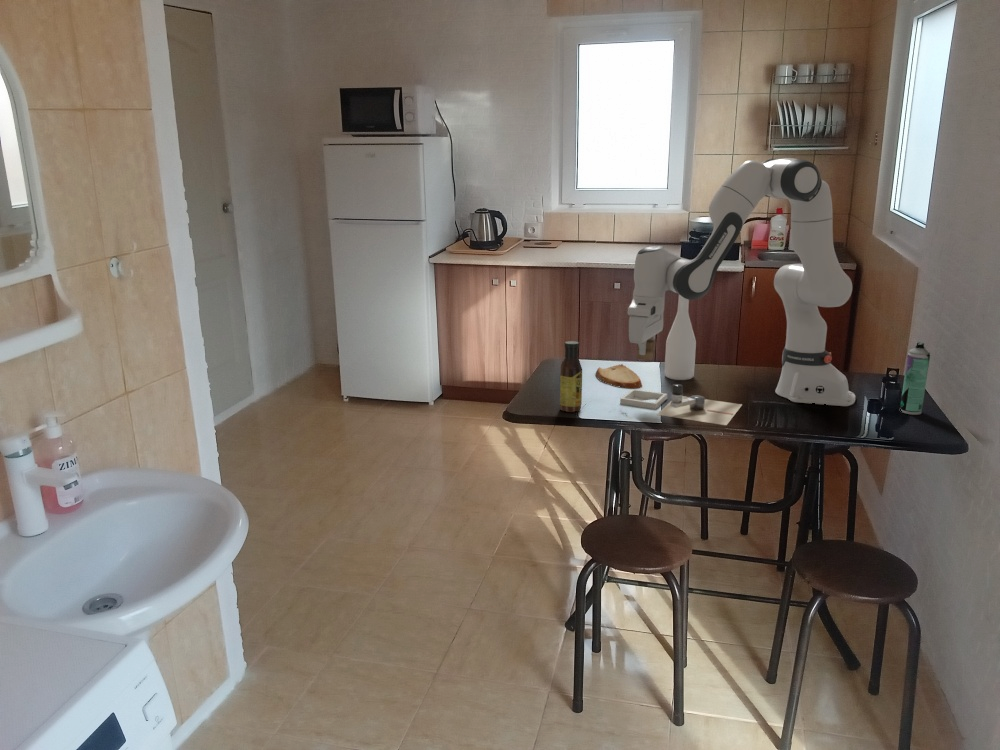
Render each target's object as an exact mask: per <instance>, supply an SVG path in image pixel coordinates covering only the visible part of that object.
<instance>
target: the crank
mask: <svg viewBox="0 0 1000 750" xmlns="http://www.w3.org/2000/svg"><path fill="white" fill-rule="evenodd" d="M671 386H672V387H671V400H670V402H671V406H672V407H674V408H678V407H682V406H686V405H690V408H691V409H695V410H702V409H704V404H705V399H706V397H705V396H704V395H703V396H702V395H698V394H697V395H691V396H689V397H690V398H686V399H682V396H683V388H684V385H683V384H679V383H674V384H671Z"/></svg>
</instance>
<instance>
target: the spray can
mask: <svg viewBox="0 0 1000 750" xmlns="http://www.w3.org/2000/svg"><path fill="white" fill-rule="evenodd" d="M930 360H931V352H930V351H929V350H927V349H926V346H925V343H924V342H917V343H916V345H915V346H914V348H911V349H908V353H907V357H906V364H905V369H904V370H905V371H904V379H903V386H902V391H901V392H902V393H901V399H900V405H899V410H900V409H901V411H902V412H901V411H900V412H901V413H904V414H908V415H910V416H911V415H913V416H914V415H915V416H917V415H921V414H922V411H923V410H922V409H923V406H924V405H923V404H924V398H925V391H926V385H927V378H928V372H929V367H930Z"/></svg>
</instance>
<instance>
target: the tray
mask: <svg viewBox="0 0 1000 750" xmlns="http://www.w3.org/2000/svg"><path fill="white" fill-rule="evenodd" d="M648 400H649V401H648ZM651 400H655V401H654V402H651ZM666 400H668V393H663V392H658V391H657V392H656V391H650V390H649V391H648V390H643V389H642V390H641V389H637V388H631V390H630V391H628V392H626V394H623V396H622V397H620V401H619V402H620V403H619V404H621V405H627V406H634V407H640V408H646V409H647V408H648V409H653V410H657V408H659V407H660V406H661V405H662V404H663V403H664V402H665V401H666Z"/></svg>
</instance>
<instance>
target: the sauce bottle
mask: <svg viewBox="0 0 1000 750" xmlns="http://www.w3.org/2000/svg"><path fill="white" fill-rule="evenodd" d="M579 348H580V343H579V341H574V340H568V341H565V342H564V349H565V350H564V359H563V361H561V364H560V375H559V376H560V377H559V379H560V380H559V408H560V410H561V411H562V412H564V411H566V412H565V413H576V412H575V411H577V412H579V411H581V410H582V398H583V397H582V396H583V368H582V364H581V361H580V359H579Z"/></svg>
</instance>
